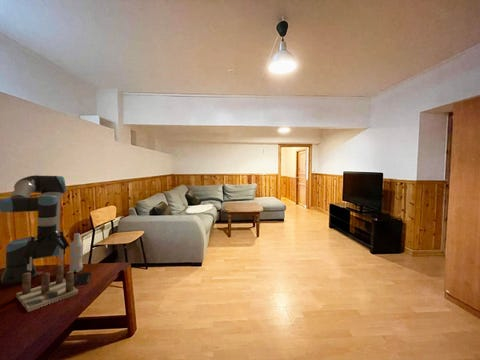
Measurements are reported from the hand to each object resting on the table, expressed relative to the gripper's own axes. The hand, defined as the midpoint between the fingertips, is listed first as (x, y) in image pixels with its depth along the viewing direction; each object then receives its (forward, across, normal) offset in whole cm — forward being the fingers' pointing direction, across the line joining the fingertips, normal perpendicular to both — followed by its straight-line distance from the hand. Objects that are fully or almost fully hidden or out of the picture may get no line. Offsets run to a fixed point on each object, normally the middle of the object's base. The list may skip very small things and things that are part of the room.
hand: (46, 265), depth 115 cm
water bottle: (+17, -25, -17) cm, 35 cm away
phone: (+17, -20, -3) cm, 27 cm away
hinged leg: (+14, 0, +3) cm, 15 cm away
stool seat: (+17, -1, 0) cm, 17 cm away
